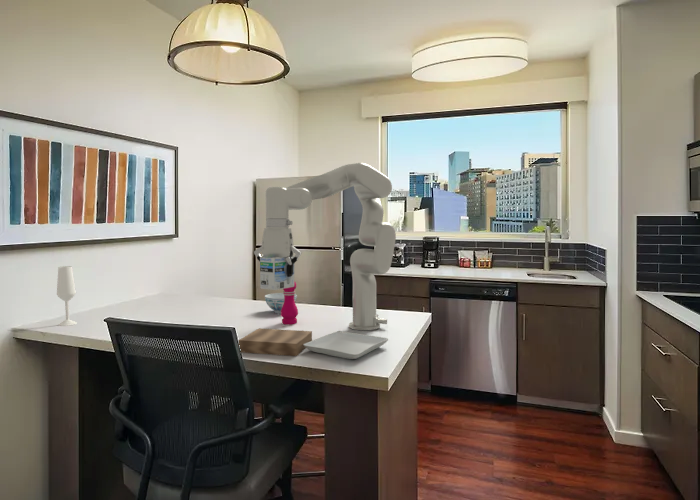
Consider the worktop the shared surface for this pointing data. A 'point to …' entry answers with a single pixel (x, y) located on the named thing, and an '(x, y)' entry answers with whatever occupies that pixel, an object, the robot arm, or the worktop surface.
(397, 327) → the worktop surface
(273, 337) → the riser block
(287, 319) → the pepper mill
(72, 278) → the champagne flute
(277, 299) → the chinaware
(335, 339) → the salad plate
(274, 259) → the light bulb box
